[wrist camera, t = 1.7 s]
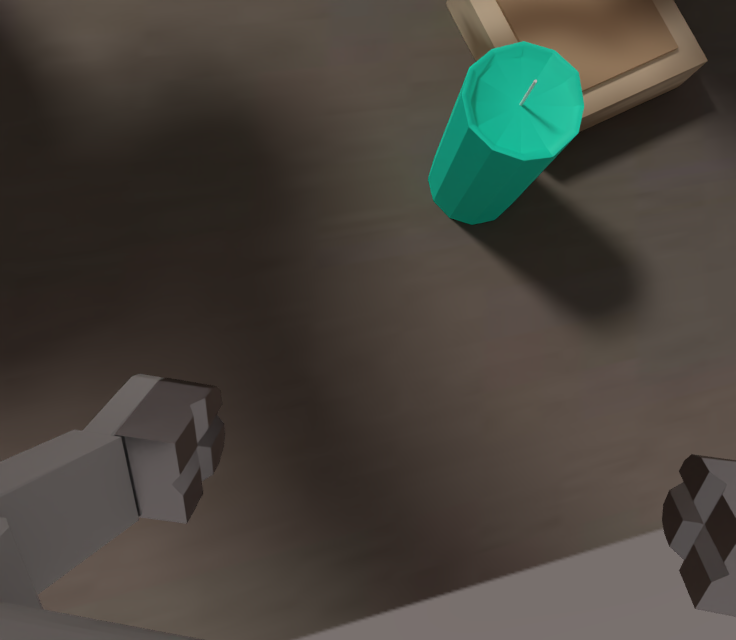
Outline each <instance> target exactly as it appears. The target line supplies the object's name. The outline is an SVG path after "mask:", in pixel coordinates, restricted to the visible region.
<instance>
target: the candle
mask: <svg viewBox="0 0 736 640" xmlns="http://www.w3.org/2000/svg"><path fill="white" fill-rule="evenodd" d="M583 110H584V100H583V94H582V88H581V82H580V76H579V72H578V71H577V70H576V69H575V68H574V67H573V66H572V65H571V64H570V63H568V62H567V61H566V60H565V59H564V58H563V57H562V56H561V55H560V54H559V53H557V52H556V51H555V50H553V49H549V48H546V47H542V46H539V45H535V44H532V43H529V42H525V41H522V42H518V43H514V44H510V45H506V46H502V47H498V48H493V49H491V50H490V51H489V52H487V53H486V54H485V55H484V56H483V57H481V58H480V59H479V60H478V61H476V62H475V63H474V64H473V65H472V66H470V67H469V70H468V72H467V75H466V77H465V80H464V82H463V85H462V88H461V90H460V93H459V95H458V98H457V101H456V103H455V106H454V108H453V111H452V113H451V116H450V119H449V121H448V124H447V126H446V129H445V131H444V134H443V137H442V139H441V142H440V144H439V147H438V150H437V152H436V155H435V157H434V161H433V164H432V167H431V170H430V174H429V177H428V181H429V185H430V189H431V193H432V197H433V201H434V202H435V203H436V204H437V205H438V206H439V207H440V208H441V209H442V211H443V212H444V213H445V214H446V215H447V216H448V217H449V218H451V219H455V220H458V221H461V222H464V223H467V224H471V225H474V224H479V223H483V222H488V221H493V220H495V219H496V218H498V217H499V216H500V215H501V214H502V213H503V212H504V211H505V210H506V209H507V208H508V207H509V206H510V205H512V203H513V202H514V201H515V200H516V199H517V198H518V197H519V196H520V195H521V194H522V193H523V192H524V191H525V190H526V189H527V187H528V186H529V185H530V184H531V183H532V182H533V181H534V180H535V179H536V178H537V177H538V176H539V175H540V174H541V173H542V171H543V170H544V169H545V168H546V167H547V166H548V165H549V164H550V163H551V162H552V161H553V160H554V159H555V158H556V157H557V155H558V154H559V153H560V152H561V151H562V150H563V149H564V148H565V147H566V146H567V145H568V144H569V143H570V142H571V141H572V139H573V138H574V137H575V136H576V135H577V134H578V133H579V129H580V124H581V120H582V115H583Z"/></svg>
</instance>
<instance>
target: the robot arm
mask: <svg viewBox="0 0 736 640" xmlns="http://www.w3.org/2000/svg"><path fill="white" fill-rule="evenodd" d="M221 406H222V397H221V390H220V389H219V388H218V387H217V386H213V385H207V384H201V383H195V382H189V381H183V380H177V379H171V378H162V377H157V376H151V375H144V374H137V375H134V376H132V377H131V378H130V379H129V380H128V381H127V382H126V383H125V384H124V385H123V386H122V388H121V389H120V390H119V391H118V392H117V393H116V394H115V395H114V396H113V397H112V399H111V400H110V401H109V402H108V403H107V404H106V405H105V406H104V407H103V408H102V410H101V411H100V412H99V413H98V414H97V415H96V416H95V417H94V418H93V419H92V421H91V422H90V423H89V424H88V425H87V426H86V427H85V428H84V429H83V430H82V431H80V430H72V431H69V432H67V433H65V434H63V435H60V436H58V437H56V438H53V439H51V440H49V441H47V442H44V443H42V444H40V445H37V446H35V447H33V448H31V449H28V450H26V451H24V452H21V453H19V454H17V455H14V456H12V457H10V458H8V459H5V460H3V461H1V462H0V640H204V639H198V638H193V637H188V636H182V635H177V634H171V633H166V632H161V631H155V630H150V629H145V628H139V627H134V626H129V625H123V624H118V623H113V622H107V621H102V620H97V619H91V618H86V617H81V616H75V615H70V614H65V613H59V612H54V611H49V610H44V609H43V607H42V604H41V602H40V599H39V597H38V594H39V593H40V592H42V591H43V590H45V589H46V588H47V587H49V586H50V585H51V584H53V583H54V582H55V581H57V580H58V579H59V578H61V577H62V576H64V575H65V574H66V573H68V572H69V571H70V570H72V569H73V568H74V567H76V566H77V565H78V564H80V563H81V562H82V561H84V560H85V559H87V558H88V557H89V556H91V555H92V554H93V553H95V552H96V551H97V550H99V549H100V548H101V547H103V546H104V545H106V544H107V543H108V542H110V541H111V540H112V539H114V538H115V537H116V536H118V535H119V534H120V533H122V532H123V531H125V530H126V529H127V528H129V527H130V526H131V525H133V524H134V523H135V522H137V521H138V520H139V517H142V518H150V519H157V520H164V521H171V522H179V523H186V524H187V523H188V521H189V519H190V517H191V515H192V513H193V512H194V510H195V508H196V506H197V504H198V502H199V500H200V499H201V497H202V495H203V487H202V481H203V480H205V479H206V478H208V477H210V476H211V475H213V474H214V472H215V470H216V468H217V466H218V464H219V462H220V459H221V455H222V452H223V448H224V440H225V427H224V423H223V422H222V420H221V419H220V418H219V417H218V416H217V413H218V411H219V410H220V408H221ZM679 473H680V475H681V477H682V479H683V483H681V484H679V485H677V486H676V487H674V488H672V489H671V490H669V492H668V495H667V497H666V499H665V502H664V504H663V514H662V523H663V529H664V534H665V536H666V539H667V541H668V544H669V547H671V548H672V549H673V550H674V551H675V552H676V553H677V554H678V555H679V556H680V557H681V558H682V559H684V561H683V564H682V566H681V568H680V570H679V571H680V574H681V576H682V578H683V581H684V583H685V586H686V588H687V590H688V593H689V595H690V597H691V600H692V602H693V605H694V607H695V609H698V610H704V611H709V612H714V613H719V614H725V615H729V616H734V617H736V460H730V459H722V458H715V457H708V456H701V455H693V454H691V455H690V456H689V457H688V458H687V459H685V460H684V462H683V464H682V466H681V468H680V470H679Z"/></svg>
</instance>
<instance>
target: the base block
mask: <svg viewBox="0 0 736 640" xmlns="http://www.w3.org/2000/svg"><path fill="white" fill-rule="evenodd" d="M446 5H447V7H448V9H449V11H450V13H451V15H452V17H453V19H454V21H455V23H456V24H457V26H458V28H459V30H460V32H461V34H462V36H463V38H464V40H465V42H466V44H467V45H468V47H469V49H470V51H471V53H472V55H473V57H474V59H475V61H478V60H479V59H480V58H481V57H483V56H484V55H485V54H486V53H487V52H489V51H490V50H491V49H493V48H498V47H502V46H506V45H510V44H514V43H518V42H522V41H525V42H529V43H532V44H535V45H539V46H542V47H546V48H549V49H553V50H555V51H556V52H557V53H559V54H560V55H561V56H562V57H563V58H564V59H565V60H566V61H567V62H568V63H570V64H571V65H572V66H573V67H574V68H575V69H576V70H577V71H578V72H579V76H580V82H581V88H582V94H583V100H584V110H583V115H582V120H581V124H580V129H579V132H581V131H583V130H585V129H587V128H590V127H592V126H594V125H596V124H598V123H600V122H603V121H605V120H607V119H609V118H611V117H614V116H616V115H618V114H620V113H622V112H624V111H627V110H629V109H631V108H633V107H635V106H638V105H640V104H642V103H644V102H646V101H648V100H651V99H653V98H655V97H657V96H659V95H662V94H664V93H666V92H668V91H670V90H673V89H675V88H677V87H679V86H680V85H681V84H682V83H683V82H685V81H686V80H687V79H688V78H689V77H690V76H691V75H692V74H694V73H695V72H696V71H697V70H698V69H699V68H700V67H701V66H703V65H704V64H705V63H706V62H707V61H708V60H707V58H706V56H705V55H704V53H703V51H702V49H701V48H700V46H699V44H698V42H697V41H696V39H695V37H694V35H693V34H692V32H691V30H690V28H689V26H688V25H687V23H686V21H685V19H684V18H683V16H682V14H681V12H680V11H679V9H678V7H677V5H676V4H675V2H674V0H447V4H446Z"/></svg>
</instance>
